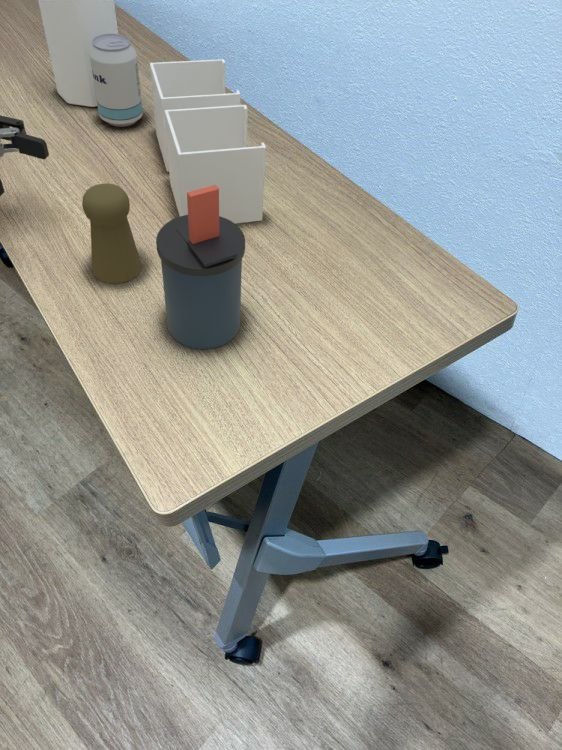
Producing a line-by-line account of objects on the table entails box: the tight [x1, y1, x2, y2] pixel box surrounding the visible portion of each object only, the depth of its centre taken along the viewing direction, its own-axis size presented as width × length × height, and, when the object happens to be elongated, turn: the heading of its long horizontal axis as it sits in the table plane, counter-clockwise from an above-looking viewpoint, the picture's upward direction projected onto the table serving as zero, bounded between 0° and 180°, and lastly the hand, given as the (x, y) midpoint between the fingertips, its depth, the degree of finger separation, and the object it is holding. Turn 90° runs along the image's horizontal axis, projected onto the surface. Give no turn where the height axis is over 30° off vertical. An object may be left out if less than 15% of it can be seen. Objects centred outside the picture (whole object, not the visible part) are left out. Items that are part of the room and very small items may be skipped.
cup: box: [37, 0, 119, 108], centre depth 98 cm, size 11×11×18 cm
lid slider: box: [187, 185, 237, 267], centre depth 59 cm, size 4×4×6 cm
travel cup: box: [155, 215, 246, 350], centre depth 67 cm, size 9×9×12 cm
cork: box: [81, 183, 143, 285], centre depth 73 cm, size 6×6×11 cm
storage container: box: [149, 58, 267, 224], centre depth 87 cm, size 25×11×11 cm, turn 16°
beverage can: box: [89, 33, 144, 128], centre depth 95 cm, size 7×7×12 cm
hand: (24, 168), depth 70 cm, fingers open, 8 cm apart
